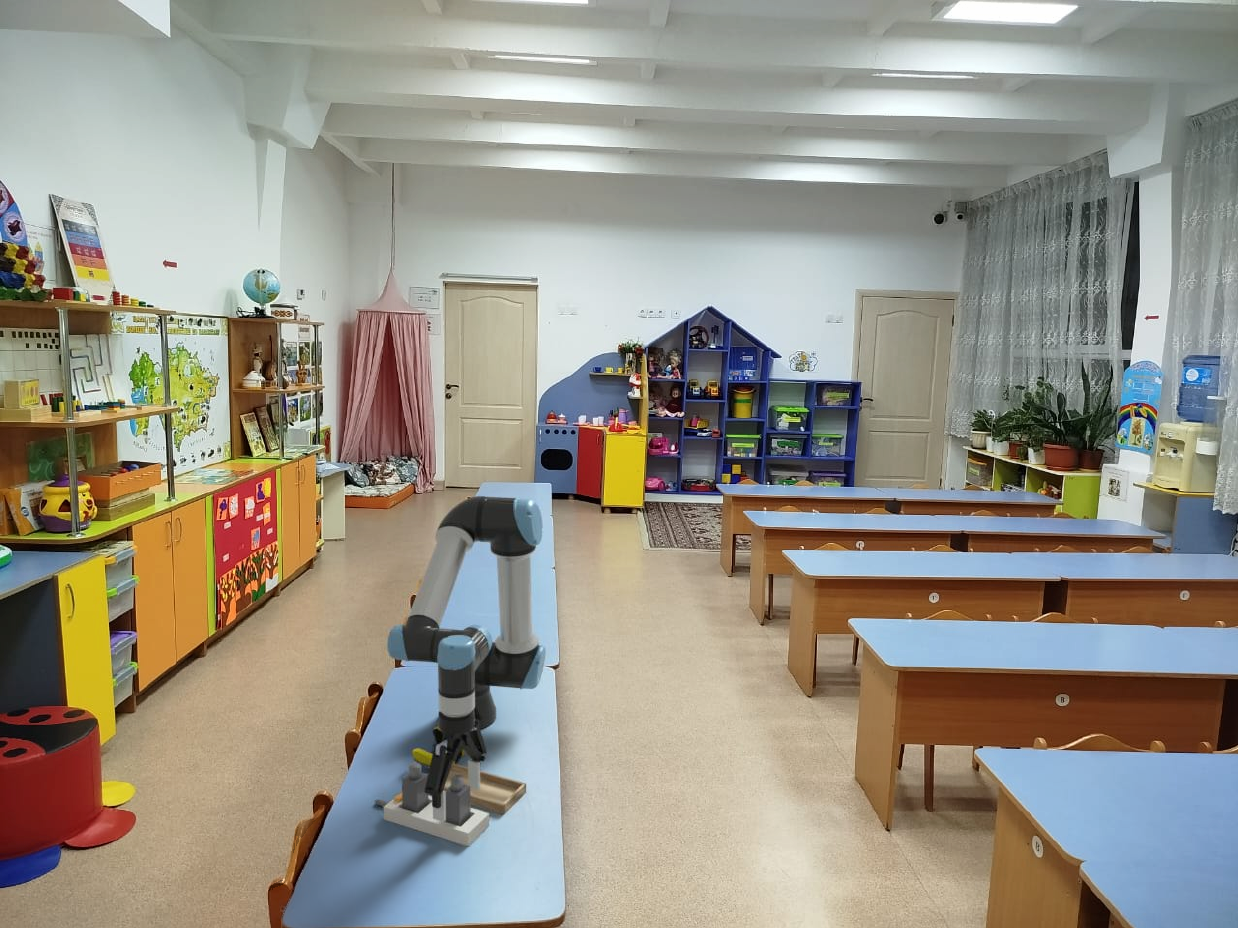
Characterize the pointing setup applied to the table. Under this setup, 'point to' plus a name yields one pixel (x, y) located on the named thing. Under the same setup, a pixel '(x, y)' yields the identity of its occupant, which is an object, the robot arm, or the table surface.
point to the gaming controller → (426, 757)
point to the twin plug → (414, 789)
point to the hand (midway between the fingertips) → (457, 803)
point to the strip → (435, 821)
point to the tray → (490, 790)
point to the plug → (457, 801)
